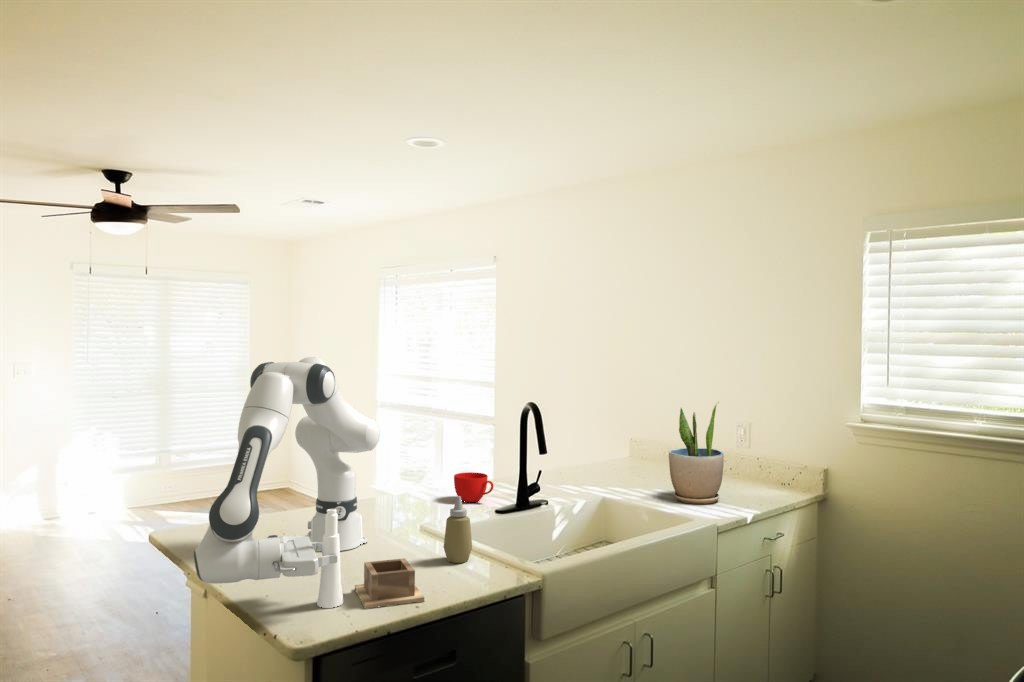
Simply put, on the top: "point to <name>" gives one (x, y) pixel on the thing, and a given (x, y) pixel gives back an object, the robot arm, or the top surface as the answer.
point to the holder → (388, 584)
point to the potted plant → (696, 465)
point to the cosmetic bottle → (330, 565)
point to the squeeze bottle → (458, 534)
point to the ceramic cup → (471, 486)
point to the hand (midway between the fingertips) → (334, 552)
